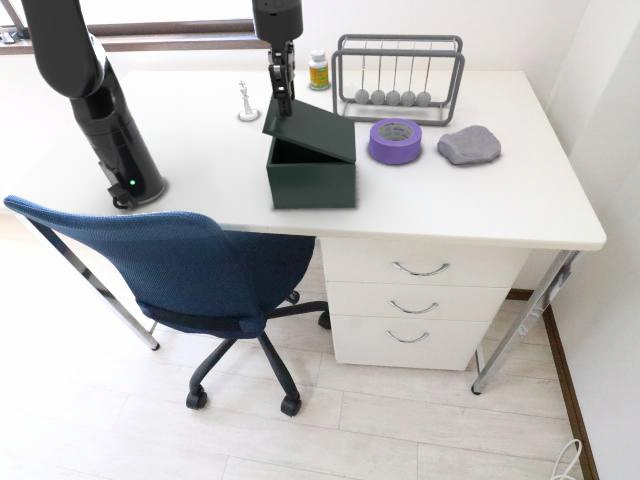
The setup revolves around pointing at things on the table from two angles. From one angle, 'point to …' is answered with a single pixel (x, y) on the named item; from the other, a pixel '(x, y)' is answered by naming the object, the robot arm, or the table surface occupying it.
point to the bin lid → (313, 129)
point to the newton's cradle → (394, 96)
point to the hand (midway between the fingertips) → (287, 107)
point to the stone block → (469, 145)
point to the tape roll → (395, 150)
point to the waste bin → (308, 178)
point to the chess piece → (246, 105)
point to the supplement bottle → (318, 70)
